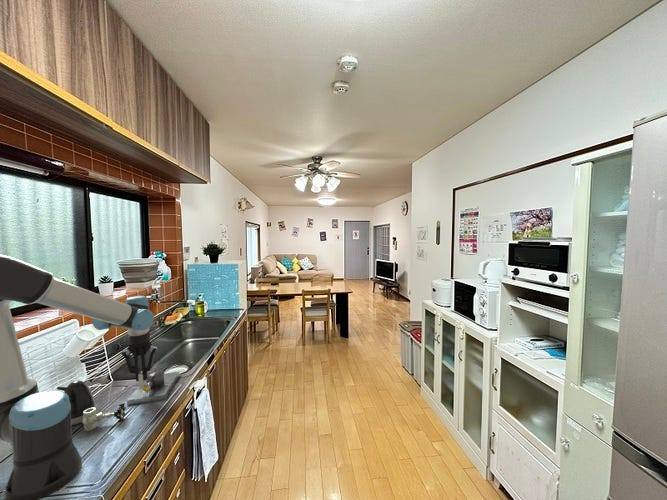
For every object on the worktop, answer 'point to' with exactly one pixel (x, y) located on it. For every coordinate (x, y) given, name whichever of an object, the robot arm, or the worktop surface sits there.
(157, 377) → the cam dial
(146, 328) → the robot arm
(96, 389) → the worktop surface
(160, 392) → the stand base
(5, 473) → the worktop surface
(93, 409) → the valve
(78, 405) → the pump dispenser
